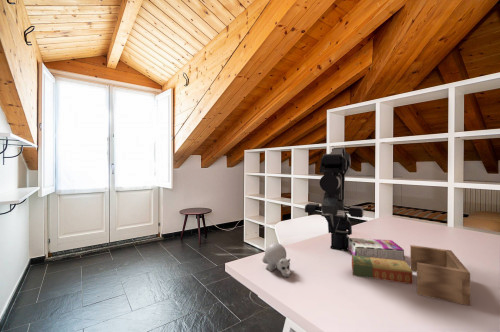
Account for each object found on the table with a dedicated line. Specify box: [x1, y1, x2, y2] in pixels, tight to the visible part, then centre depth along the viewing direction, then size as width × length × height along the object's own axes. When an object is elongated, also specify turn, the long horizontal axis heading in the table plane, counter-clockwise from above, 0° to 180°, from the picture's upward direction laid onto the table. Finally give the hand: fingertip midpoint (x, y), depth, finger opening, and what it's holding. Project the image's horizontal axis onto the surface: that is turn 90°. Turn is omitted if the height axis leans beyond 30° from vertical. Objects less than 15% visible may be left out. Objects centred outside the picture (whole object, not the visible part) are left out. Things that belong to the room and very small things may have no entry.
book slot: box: [409, 244, 471, 307], centre depth 68 cm, size 10×18×8 cm, turn 151°
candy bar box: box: [348, 237, 405, 261], centre depth 90 cm, size 11×5×16 cm
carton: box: [351, 254, 414, 285], centre depth 75 cm, size 8×16×4 cm, turn 69°
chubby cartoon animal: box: [262, 242, 291, 278], centre depth 76 cm, size 7×12×8 cm, turn 24°
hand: (333, 234), depth 82 cm, fingers closed
